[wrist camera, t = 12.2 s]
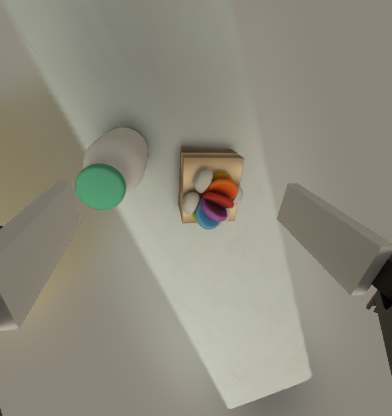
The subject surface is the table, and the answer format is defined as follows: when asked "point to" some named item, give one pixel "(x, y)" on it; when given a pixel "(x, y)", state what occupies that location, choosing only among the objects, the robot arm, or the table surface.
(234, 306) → the table surface
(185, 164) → the tower top
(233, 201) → the multicoloured petal toy
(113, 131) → the milk bottle
